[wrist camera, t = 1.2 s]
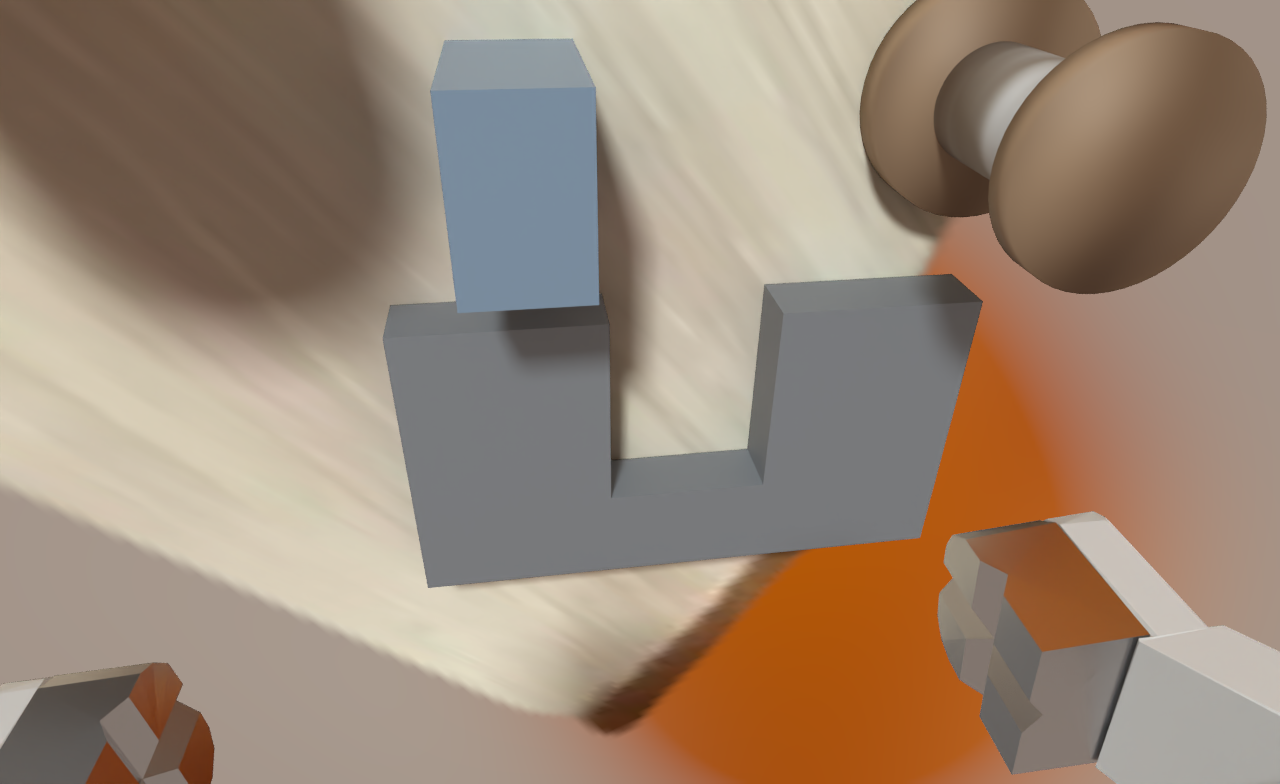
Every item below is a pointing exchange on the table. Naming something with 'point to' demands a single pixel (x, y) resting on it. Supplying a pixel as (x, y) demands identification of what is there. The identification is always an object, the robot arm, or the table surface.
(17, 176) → the table surface
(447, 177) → the blue-gray rectangular block
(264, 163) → the table surface
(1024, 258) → the bobbin post
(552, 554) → the notched board
